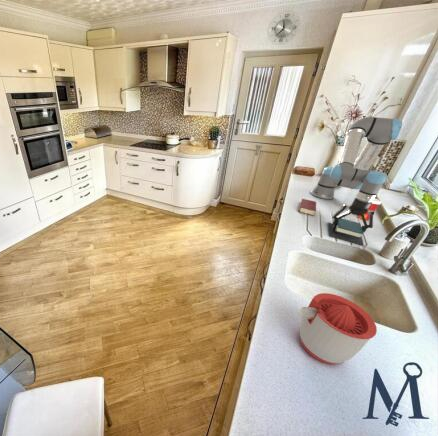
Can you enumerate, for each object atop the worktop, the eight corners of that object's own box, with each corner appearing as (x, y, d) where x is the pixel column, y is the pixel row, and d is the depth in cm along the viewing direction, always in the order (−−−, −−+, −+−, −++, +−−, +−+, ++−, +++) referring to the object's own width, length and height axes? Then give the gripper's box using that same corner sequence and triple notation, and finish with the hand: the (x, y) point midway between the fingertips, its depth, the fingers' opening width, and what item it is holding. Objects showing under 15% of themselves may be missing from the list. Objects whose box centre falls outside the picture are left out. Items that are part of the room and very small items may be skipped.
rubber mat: (328, 223, 150) (328, 222, 149) (359, 231, 142) (359, 230, 142) (329, 235, 136) (329, 235, 136) (363, 245, 129) (363, 245, 129)
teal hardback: (334, 221, 146) (337, 217, 144) (357, 227, 140) (360, 223, 139) (335, 231, 135) (338, 227, 134) (360, 238, 130) (363, 233, 129)
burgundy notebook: (300, 203, 174) (302, 198, 172) (314, 206, 170) (316, 201, 168) (298, 211, 162) (300, 206, 160) (313, 215, 158) (315, 210, 155)
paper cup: (368, 217, 159) (379, 198, 152) (372, 222, 153) (383, 203, 146) (354, 214, 162) (364, 196, 154) (357, 219, 155) (368, 200, 148)
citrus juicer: (285, 317, 86) (305, 278, 76) (340, 335, 81) (370, 296, 71) (289, 357, 74) (315, 316, 64) (355, 381, 68) (394, 340, 58)
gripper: (337, 196, 131) (321, 228, 142) (393, 208, 120) (371, 242, 131) (337, 192, 136) (321, 223, 147) (390, 203, 125) (369, 236, 136)
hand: (345, 232), depth 139 cm, fingers closed on teal hardback, 11 cm apart
